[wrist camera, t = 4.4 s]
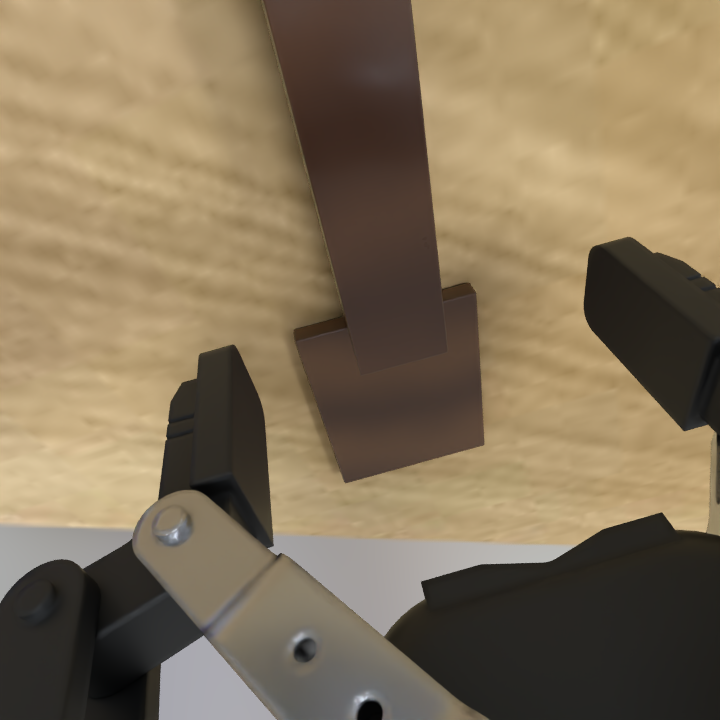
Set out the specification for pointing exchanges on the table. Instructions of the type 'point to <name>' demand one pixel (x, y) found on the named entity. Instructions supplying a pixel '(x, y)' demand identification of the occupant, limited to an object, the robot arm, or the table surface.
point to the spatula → (376, 241)
